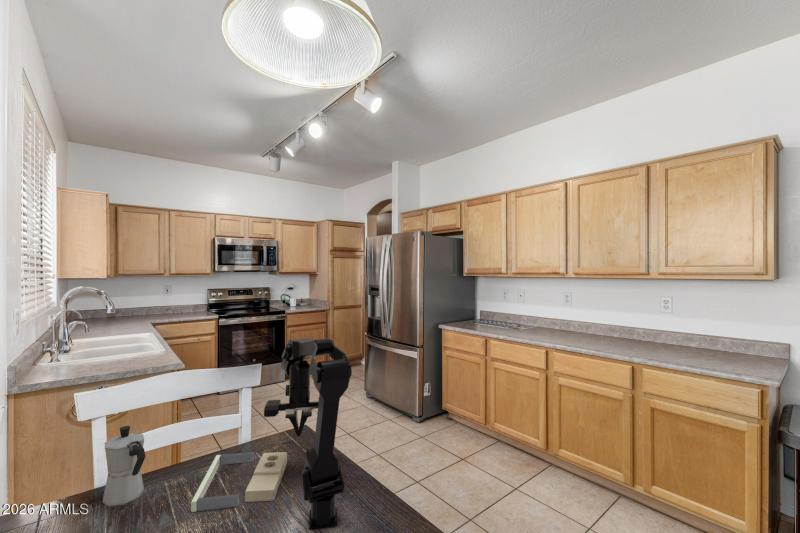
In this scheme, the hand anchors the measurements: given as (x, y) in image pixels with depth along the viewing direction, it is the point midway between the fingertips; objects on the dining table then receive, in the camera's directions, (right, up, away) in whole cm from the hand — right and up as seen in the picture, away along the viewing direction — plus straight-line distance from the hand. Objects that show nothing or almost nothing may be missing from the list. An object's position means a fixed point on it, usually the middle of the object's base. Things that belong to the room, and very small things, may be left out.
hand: (298, 435), depth 106 cm
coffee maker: (-42, -11, -11) cm, 45 cm away
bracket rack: (-19, -11, -4) cm, 22 cm away
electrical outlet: (-8, -12, -3) cm, 15 cm away
